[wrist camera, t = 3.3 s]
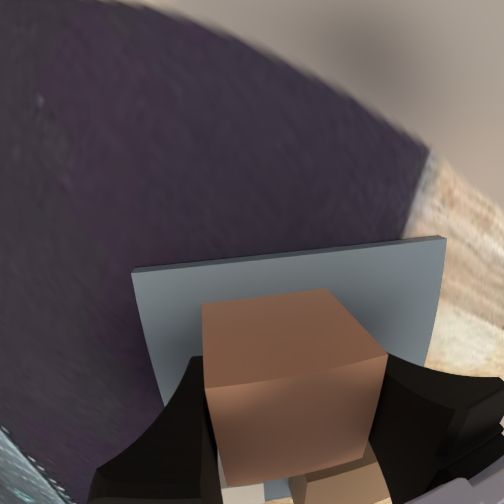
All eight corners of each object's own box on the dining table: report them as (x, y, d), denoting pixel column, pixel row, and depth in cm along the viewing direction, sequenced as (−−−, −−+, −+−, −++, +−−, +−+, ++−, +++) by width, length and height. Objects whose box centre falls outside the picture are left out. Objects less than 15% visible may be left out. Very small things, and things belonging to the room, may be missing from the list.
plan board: (384, 462, 19) (406, 498, 15) (203, 501, 17) (207, 547, 13) (439, 235, 14) (498, 260, 10) (134, 268, 12) (106, 316, 8)
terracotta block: (321, 382, 14) (362, 457, 9) (216, 399, 13) (227, 486, 9) (326, 288, 13) (388, 354, 8) (201, 303, 12) (204, 388, 7)
